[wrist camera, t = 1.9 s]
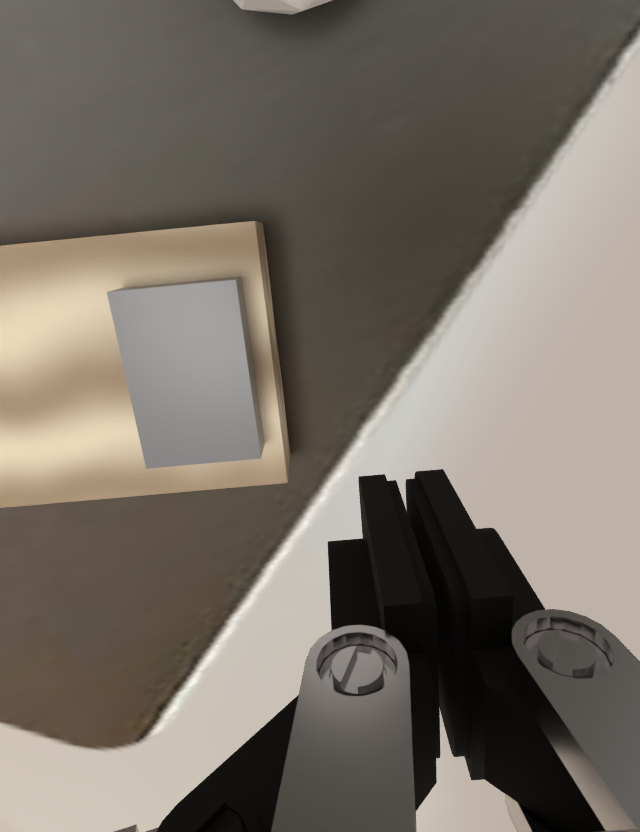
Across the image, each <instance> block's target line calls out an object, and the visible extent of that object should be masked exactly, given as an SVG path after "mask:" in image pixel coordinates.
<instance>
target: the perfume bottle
mask: <svg viewBox="0 0 640 832" xmlns="http://www.w3.org/2000/svg"><path fill="white" fill-rule="evenodd" d="M233 1H234V2H235V3H236V4H237V5H238V6H239V7H240V8H241V9H242V10H252V11H262V12H272V13H282V14H291V15H293V14H296V13H299V12H301V11H304V10H307V9H310V8H313V7H315V6H318V5H321V4H324V3H327V2H330V1H332V0H233Z"/></svg>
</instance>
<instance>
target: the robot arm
mask: <svg viewBox="0 0 640 832" xmlns="http://www.w3.org/2000/svg"><path fill="white" fill-rule="evenodd" d="M359 492H360V505H361V519H362V533H363V539H353V540H341V541H330V542H328V556H329V579H330V602H331V625H332V631H330V632H328V633H327V634H326V635H324V636H322V637H321V638H319V639H318V640H317V642H316V643H315V644H314V645H313V647H312V648H311V649H310V651H309V654H308V656H307V659H306V662H305V667H304V672H303V677H302V682H301V686H300V692H299V695H298V696H297V697H296V698H295V699H294V700H292V701H291V702H290V703H289V704H288V705H287V706H286V707H285V708H284V709H283V710H281V711H280V712H279V713H278V714H277V715H276V716H275V717H274V718H273V719H271V720H270V722H268V723H267V724H266V725H265V726H264V727H263V728H261V729H260V730H259V731H258V732H257V733H256V734H255V735H254V736H252V737H251V738H250V739H249V740H248V741H247V742H246V743H245V744H244V745H243V746H241V747H240V748H239V749H238V750H237V751H236V752H235V753H234V754H232V755H231V756H230V757H229V758H228V759H227V760H226V761H225V762H224V763H222V765H220V766H219V767H218V768H217V769H216V770H215V771H214V772H213V773H211V774H210V775H209V776H208V777H207V778H206V779H205V780H204V781H203V782H202V783H200V784H199V785H198V786H197V787H196V788H195V789H194V790H193V791H191V792H190V793H189V794H188V795H187V796H186V797H185V798H184V799H183V800H181V801H180V802H179V803H178V804H177V805H176V806H175V807H174V809H173V810H172V811H171V812H170V813H169V814H168V815H167V816H166V818H165V819H164V820H163V821H162V823H161V825H160V826H159V828H156V829H153V830H149V831H146V832H416V810H417V809H418V808H419V806H420V805H421V803H422V802H423V800H424V799H425V798H426V796H427V795H428V794H429V792H430V791H431V789H432V788H433V787H434V785H435V784H436V758H440V718H439V707H440V710H441V714H442V718H443V722H444V726H445V729H446V733H447V737H448V740H449V744H450V748H451V751H452V754H453V756H454V757H459V756H465V759H466V763H467V766H468V770H469V773H470V777H471V780H481V779H485V780H486V781H488V782H489V783H491V784H492V785H493V786H495V787H496V788H498V789H499V790H501V791H502V792H504V793H505V802H506V806H507V808H508V812H509V815H510V818H511V820H512V822H513V824H514V826H515V828H516V830H517V832H640V661H639V660H638V659H637V658H636V657H635V656H634V655H633V654H632V653H631V652H630V651H629V650H628V649H627V648H626V647H625V646H624V645H623V644H622V643H621V642H620V641H619V639H617V637H616V636H615V635H613V634H612V633H611V632H610V631H609V630H607V629H606V628H605V627H603V626H602V625H601V624H599V623H597V622H595V621H593V620H591V619H590V618H587V617H585V616H582V615H579V614H576V613H573V612H570V611H563V610H555V609H549V610H545V608H544V607H543V605H542V604H541V602H540V600H539V599H538V597H537V595H536V594H535V592H534V591H533V589H532V587H531V586H530V584H529V583H528V581H527V579H526V578H525V576H524V575H523V573H522V571H521V570H520V568H519V566H518V565H517V563H516V562H515V560H514V558H513V557H512V555H511V554H510V552H509V550H508V549H507V547H506V546H505V544H504V542H503V541H502V540H501V538H500V536H499V534H498V533H497V532H496V530H495V529H493V528H483V529H476V528H475V526H474V524H473V522H472V520H471V519H470V517H469V515H468V513H467V511H466V510H465V508H464V506H463V504H462V502H461V501H460V499H459V497H458V495H457V493H456V492H455V490H454V488H453V486H452V485H451V483H450V481H449V479H448V477H447V476H446V474H445V472H444V470H443V469H441V470H430V471H418V472H416V473H415V479H407V480H406V501H407V502H406V503H407V512H406V509H405V506H404V503H403V500H402V497H401V494H400V491H399V488H398V485H397V482H396V480H394V481H387V479H386V476H385V475H373V476H362V477H359ZM115 832H139V831H138V828H137V825H134V826H130V827H128V828H125V829H122V830H118V831H115Z"/></svg>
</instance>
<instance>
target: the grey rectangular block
mask: <svg viewBox="0 0 640 832" xmlns="http://www.w3.org/2000/svg"><path fill="white" fill-rule="evenodd" d="M107 296H108V300H109V305H110V309H111V314H112V318H113V323H114V327H115V332H116V336H117V340H118V345H119V349H120V354H121V358H122V363H123V367H124V372H125V376H126V381H127V385H128V390H129V394H130V399H131V403H132V407H133V412H134V416H135V421H136V425H137V430H138V434H139V439H140V443H141V448H142V452H143V457H144V461H145V466H146V469H149V468H160V467H171V466H183V465H194V464H205V463H216V462H228V461H239V460H250V459H261V457H262V452H263V448H264V444H265V443H264V436H263V429H262V422H261V414H260V407H259V400H258V392H257V385H256V378H255V371H254V363H253V356H252V349H251V341H250V334H249V327H248V320H247V312H246V305H245V298H244V290H243V283H242V277H231V278H221V279H210V280H200V281H189V282H179V283H168V284H158V285H147V286H137V287H126V288H120V289H116V290H112V291H108V292H107Z"/></svg>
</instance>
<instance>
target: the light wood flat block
mask: <svg viewBox="0 0 640 832" xmlns="http://www.w3.org/2000/svg"><path fill="white" fill-rule="evenodd" d="M231 277H242V283H243V290H244V298H245V305H246V312H247V320H248V327H249V334H250V341H251V349H252V356H253V363H254V371H255V378H256V385H257V392H258V400H259V407H260V414H261V422H262V429H263V436H264V443H265V444H264V448H263V452H262V457H261V459H250V460H239V461H228V462H216V463H205V464H194V465H183V466H171V467H160V468H149V469H146V466H145V461H144V457H143V452H142V448H141V443H140V439H139V434H138V430H137V425H136V421H135V416H134V412H133V407H132V403H131V399H130V394H129V390H128V385H127V381H126V376H125V372H124V367H123V363H122V358H121V354H120V349H119V345H118V340H117V336H116V332H115V327H114V323H113V318H112V314H111V309H110V305H109V300H108V296H107V292H108V291H112V290H116V289H120V288H126V287H137V286H147V285H158V284H168V283H179V282H189V281H200V280H210V279H221V278H231ZM290 455H291V454H290V445H289V437H288V429H287V420H286V412H285V404H284V395H283V387H282V379H281V370H280V362H279V354H278V345H277V337H276V329H275V320H274V312H273V304H272V295H271V287H270V279H269V270H268V262H267V254H266V245H265V237H264V229H263V223H261V222H257V221H248V222H238V223H228V224H217V225H207V226H197V227H187V228H176V229H166V230H156V231H146V232H135V233H125V234H115V235H105V236H94V237H84V238H74V239H64V240H53V241H43V242H33V243H23V244H12V245H2V246H0V508H4V507H15V506H27V505H38V504H50V503H61V502H73V501H84V500H96V499H107V498H119V497H130V496H141V495H153V494H164V493H176V492H187V491H199V490H210V489H222V488H233V487H244V486H256V485H267V484H279V483H288V474H289V465H290Z"/></svg>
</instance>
